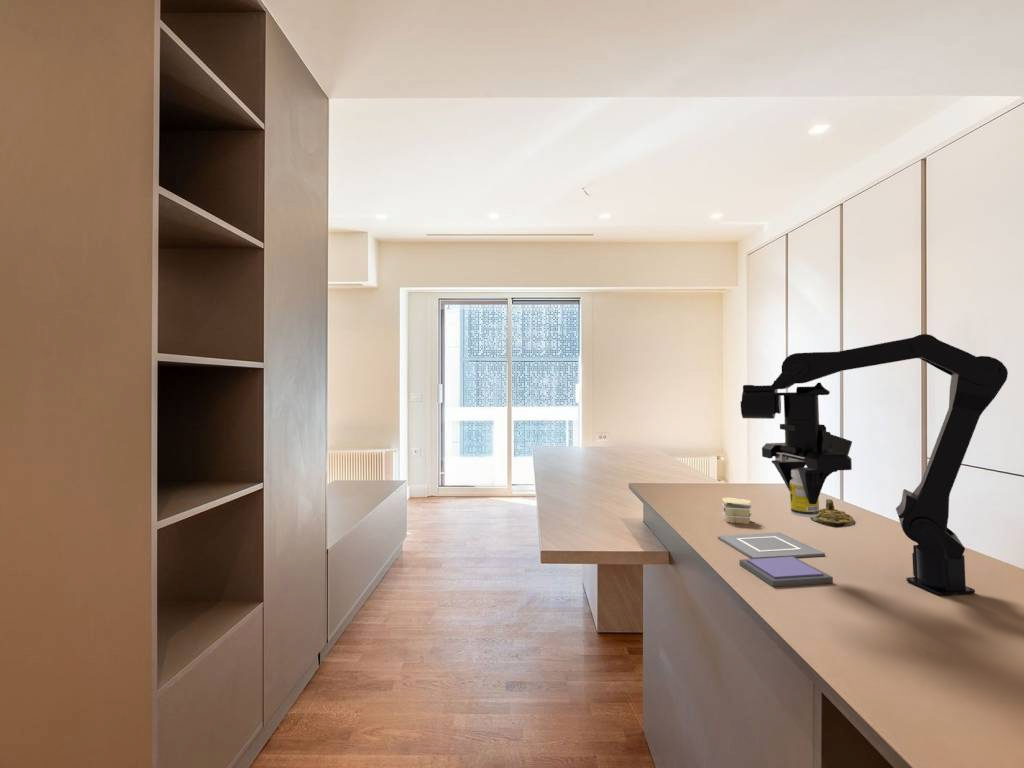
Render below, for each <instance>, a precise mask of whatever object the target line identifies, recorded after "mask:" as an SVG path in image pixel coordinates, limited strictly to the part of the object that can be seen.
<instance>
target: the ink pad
mask: <svg viewBox="0 0 1024 768" xmlns="http://www.w3.org/2000/svg"><path fill="white" fill-rule="evenodd" d="M738 561H739V563H738V564H739V566H741V567H742V568H744V569H745V570H747V571H748V572H750V573H751V574H753V575H754V576H756V577H757V578H759V579H760V580H762V581H763V582H765V583H766V584H768V585H770V586H771V587H773V588H774V587H775V588H776V587H788V586H790V587H791V586H805V585H818V584H819V585H820V584H833V583H834V578H833V576H831V575H830V574H827V573H826V572H824V571H822V570H820V569H818V568H816V567H814V566H812V565H810V564H808V563H806V562H805V561H803V560H802V559H799V558H798V557H796V558H795V557H793V556H791V557H775V558H758V559H751V558H745V559H739V560H738Z"/></svg>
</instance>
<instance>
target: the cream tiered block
mask: <svg viewBox="0 0 1024 768" xmlns="http://www.w3.org/2000/svg"><path fill="white" fill-rule="evenodd" d="M721 499H722V500H721V501H723V502H722V504H721V505H722V506H723V510H722V513H723V514H722V515H723V516H725V522H726V523H729V522H730V523H729V524H735V522H736V523H737V524H743V525H744V524H745V525H749V524H750V522H751V516H752V512H751V510H750V509H751V508H752V505H751V504H750V503H751V499H750V500H749V499H742V498H734V497H722V498H721Z"/></svg>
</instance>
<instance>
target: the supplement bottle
mask: <svg viewBox="0 0 1024 768" xmlns="http://www.w3.org/2000/svg"><path fill="white" fill-rule="evenodd" d="M791 477H792V478H793V479H791V480H790V491H789V498H790V499H789V500H790V502H789V503H790V512H791V514H792V515H794V516H797V517H805V518H810V517H816V516H818V515H819V510H820V502H819V501H820V499H819V497H820V496H819V497H818V500H817V503H816V504H810V503H809V501H808V499H807V496H806V493H805V490H804V487H803V483H802V480H801V477H800V474H799V471H798V469H792V470H791Z"/></svg>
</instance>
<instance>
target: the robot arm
mask: <svg viewBox="0 0 1024 768" xmlns="http://www.w3.org/2000/svg"><path fill="white" fill-rule="evenodd" d="M915 359H919V360H921V361H924V362H925V363H927V364H929V365H931V366H932V367H934V368H936V369H938V370H939V371H941V372H943V373H945V374H946V375H947V374H948V375H949V376H951V377H950V384H949V398H948V408H947V409H948V410H947V412H946V414H945V417H944V420H943V422H942V425H941V427H940V431H939V434H938V436H937V438H936V441H935V444H934V446H933V448H932V451H931V454H930V458H929V459H928V462H927V465H926V468H925V470H924V473H923V475H922V477H921V482H919V484H918V486H917V487H916V488H915V489H914V490H913V492H912V491H910V490H908V489H905V488H904V489H903V490H902V496H901V501H900V503H899V505H898V506H896V508H895V511H896V514H897V516H898V520H899V523H900V526H901V530H902V531H903V533H904V535H905V536H906V537H907V538H908V539H909V540H911V541H912V542H915V543H917V544H914V545H913V547H912V548H913V551H912V553H911V555H912V557H911V558H912V575H913V576H911V577H910V576H909V577H906V579H905V581H906V582H909V583H910V584H912V585H916V586H917V587H920V588H923V589H924V590H927V591H929V592H931V593H933V594H935V595H939V596H948V595H949V596H950V595H963V594H974V593H976V589H975V588H972V587H970V586H967V583H966V563H965V555H964V552H965V551H966V547H965V546H964V545H963V543H962V542H961V540H960V538H959V537H958V536H957V534H956V533H955V532H953V531H952V530H951V529H950V528H949V527H948V522H949V517H950V516H949V514H950V513H949V512H950V494H951V492H952V489H953V486H954V484H955V482H956V480H957V476H958V474H959V471H960V469H961V466H962V464H963V462H964V458H965V456H966V453H967V450H968V448H969V445H970V443H971V440H972V437H973V436H974V432H975V430H976V427H977V425H978V422H979V420H980V417H981V416H982V414H983V413H984V411H985V410H986V409H987V407H989V405H990V404H991V403H992V402H993V401H994V399H995V398H996V397H997V396H998V394H999V392H1000V390H1001V389H1002V388H1003V386H1004V385H1005V383H1006V381H1007V380H1008V375H1009V373H1008V372H1009V371H1008V369H1007V367H1006V366H1005V364H1004V363H1003V362H1002V361H1001V360H999V359H997V358H995V357H992V356H989V355H988V356H987V355H979V356H976V355H974V354H972V353H969V352H968V351H965V350H963V349H961V348H958V347H956V346H953V345H952V344H949V343H947V342H944V341H942V340H940V339H937V337H936V336H933V335H932V334H928V333H925V334H924V333H923V334H922V333H921V334H918V335H916V336H913V337H909V338H903V339H898V340H892V341H887V342H882V343H877V344H872V345H865V346H861V347H856V348H855V347H854V348H850V349H844V350H839V351H821V352H820V351H817V352H814V351H813V352H796V353H791V354H789V355H788V356H786V358H784V360H783V362H782V364H781V373H779V375H778V376H777V377H776V379H775V380H773V383H772V384H771V385H753V384H743V386H742V394H741V401H740V412H741V413H740V415H741V416H742V419H758V420H759V419H762V420H765V419H769V420H771V419H772V420H775V418H776V414H781V412H782V398H781V396H783V408H784V411H783V412H784V413H783V415H784V417H783V418H784V423H779V430H783V431H784V440H785V442H771V443H769V442H767V443H765V444H764V445H763V446H762V448H761V454H762V455H761V456H762V457H763V458H767V459H773V458H775V459H774V460H771V463H772V464H773V465H774V467H775V468H776V470H777V472H778V473H779V475H780V477H781V478H782V480H783V481H784V484H785V485H786V488H787V489H788V491H789V492H790V480H791V479H793V478H792V477H791V470H792V469H798V471H799V474H800V477H801V480H802V483H803V487H804V490H805V493H806V496H807V499H808V501H809V503H810V504H816V503H817V500H818V497H820V494H821V492H822V488H823V487H824V484H825V483H826V482H825V481H826V480H827V478H828V477H829V476H830V475H831V474H832V473H836V472H838V471H851V470H852V469H853V466H852V464H853V463H852V458H851V457H850V456H849V454H850V451H851V447H852V444H853V441H852V440H850V439H847V438H843V437H841V436H838V435H836V434H835V435H834V434H831V432H830V431H827V427H826V426H825V424H820V411H819V410H820V408H819V407H820V405H819V404H820V403H819V396H829V395H830V394H831V392H830V390H828V389H827V388H825V386H824V385H823V384H822V383H821V382H817V383H816V384H815V385H814V386H797V387H796V391H794V392H793V391H792V392H778V390H785V389H790V387H793V386H794V385H795V384H806V383H809V382H813V381H816V380H818V379H821V378H825V377H828V376H831V375H834V374H836V373H839V372H843V371H848V370H849V371H850V370H855V369H861V368H867V367H874V366H879V365H885V364H890V363H896V362H903V361H908V360H915Z"/></svg>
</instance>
